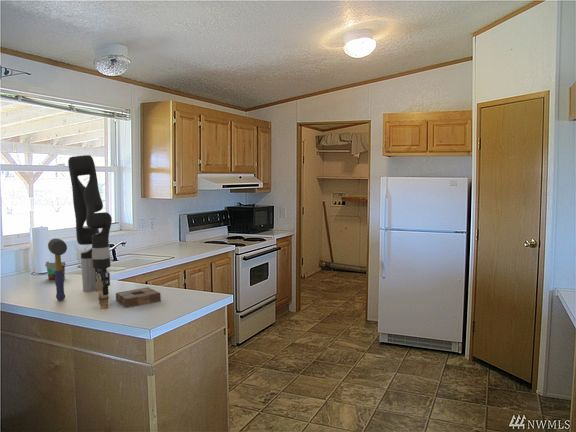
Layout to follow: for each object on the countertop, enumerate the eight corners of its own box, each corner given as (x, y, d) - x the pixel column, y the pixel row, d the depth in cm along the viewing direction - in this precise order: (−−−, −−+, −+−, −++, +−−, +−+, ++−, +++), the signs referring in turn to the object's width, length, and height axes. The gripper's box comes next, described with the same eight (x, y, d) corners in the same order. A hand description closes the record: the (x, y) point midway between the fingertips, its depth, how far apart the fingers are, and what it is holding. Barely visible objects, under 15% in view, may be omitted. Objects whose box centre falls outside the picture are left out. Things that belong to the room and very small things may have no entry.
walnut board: (116, 301, 224) (115, 292, 224) (148, 295, 234) (148, 287, 234) (127, 307, 212) (126, 299, 212) (160, 301, 222) (160, 292, 222)
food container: (41, 280, 274) (39, 263, 273) (48, 277, 280) (47, 261, 279) (59, 280, 271) (58, 263, 270) (66, 278, 277) (65, 261, 276)
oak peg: (97, 307, 213) (96, 277, 212) (107, 306, 216) (105, 276, 215) (100, 309, 210) (98, 279, 209) (110, 307, 213) (108, 277, 211)
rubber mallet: (50, 298, 231) (46, 238, 228) (67, 296, 235) (63, 236, 232) (54, 304, 221) (49, 241, 218) (71, 301, 225) (67, 239, 222)
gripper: (87, 256, 214) (90, 291, 216) (97, 260, 203) (99, 297, 205) (104, 254, 219) (106, 289, 220) (114, 258, 208) (116, 294, 209)
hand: (103, 293), depth 212 cm, fingers open, 7 cm apart
